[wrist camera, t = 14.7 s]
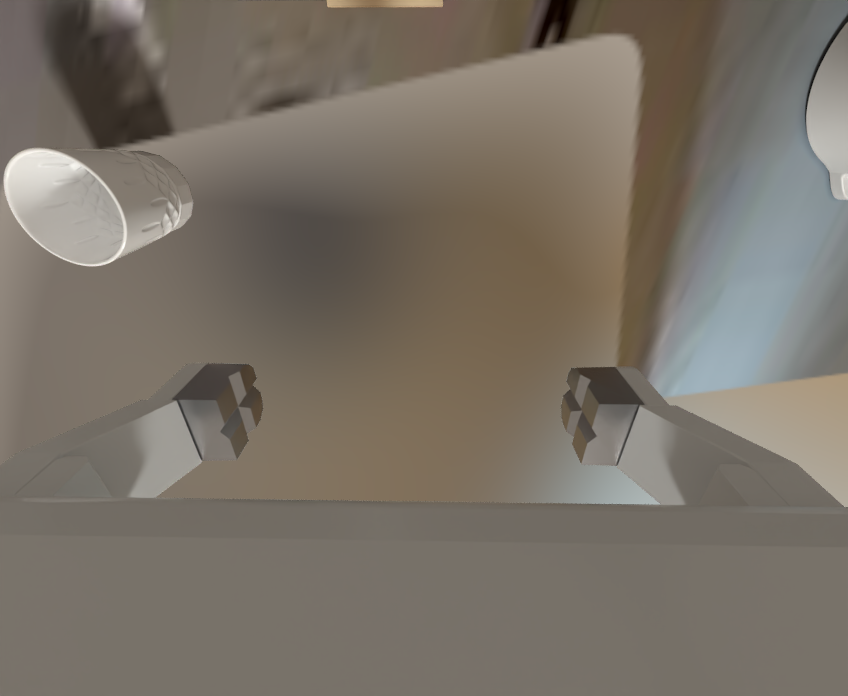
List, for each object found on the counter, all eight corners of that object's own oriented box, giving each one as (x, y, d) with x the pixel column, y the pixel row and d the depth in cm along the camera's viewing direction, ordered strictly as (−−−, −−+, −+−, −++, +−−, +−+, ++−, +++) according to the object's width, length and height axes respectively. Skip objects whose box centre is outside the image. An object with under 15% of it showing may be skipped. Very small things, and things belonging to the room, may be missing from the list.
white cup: (141, 123, 32) (34, 118, 23) (217, 199, 35) (147, 221, 26) (95, 184, 35) (-17, 201, 26) (169, 251, 38) (92, 286, 29)
